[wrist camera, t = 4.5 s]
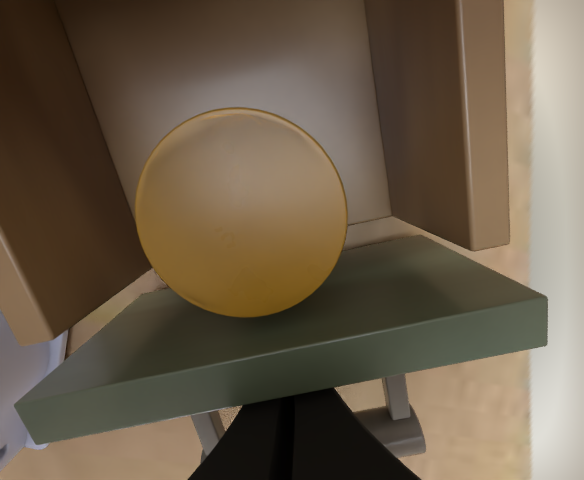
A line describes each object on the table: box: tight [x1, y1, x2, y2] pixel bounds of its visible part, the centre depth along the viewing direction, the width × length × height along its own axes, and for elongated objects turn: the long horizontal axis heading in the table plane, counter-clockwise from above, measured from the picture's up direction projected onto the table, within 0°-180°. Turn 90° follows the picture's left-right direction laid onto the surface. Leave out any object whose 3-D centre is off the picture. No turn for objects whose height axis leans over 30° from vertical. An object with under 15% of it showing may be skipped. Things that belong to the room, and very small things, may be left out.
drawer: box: [0, 0, 548, 463], centre depth 8 cm, size 17×12×6 cm
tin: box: [135, 107, 348, 317], centre depth 8 cm, size 4×4×4 cm
